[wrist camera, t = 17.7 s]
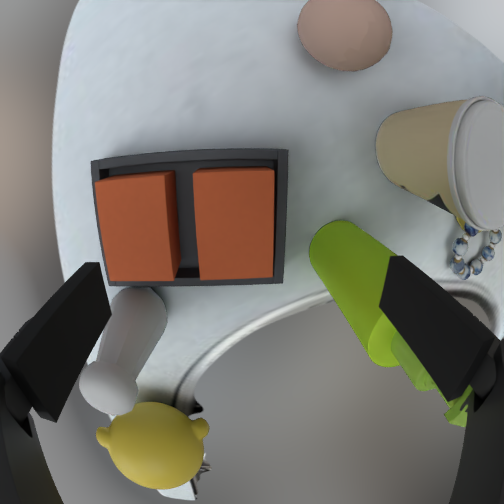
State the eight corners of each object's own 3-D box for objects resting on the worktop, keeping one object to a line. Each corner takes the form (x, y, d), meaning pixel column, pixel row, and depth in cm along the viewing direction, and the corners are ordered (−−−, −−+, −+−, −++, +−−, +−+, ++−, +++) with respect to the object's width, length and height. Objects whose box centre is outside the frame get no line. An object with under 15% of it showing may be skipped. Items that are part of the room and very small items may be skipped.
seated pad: (175, 169, 21) (164, 175, 18) (181, 260, 24) (174, 281, 21) (114, 175, 21) (94, 182, 17) (125, 261, 24) (110, 281, 20)
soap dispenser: (347, 291, 28) (452, 450, 9) (296, 259, 26) (399, 455, 7) (381, 246, 26) (525, 377, 8) (334, 208, 24) (510, 347, 6)
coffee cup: (372, 202, 24) (457, 247, 13) (359, 104, 21) (450, 88, 10) (441, 190, 24) (524, 223, 13) (433, 104, 21) (522, 104, 10)
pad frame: (282, 149, 22) (288, 149, 20) (278, 270, 26) (283, 283, 24) (103, 158, 21) (90, 161, 19) (117, 273, 25) (108, 286, 23)
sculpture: (118, 470, 29) (110, 507, 17) (99, 398, 33) (79, 413, 21) (209, 460, 34) (234, 493, 23) (193, 390, 39) (212, 402, 27)
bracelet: (502, 216, 25) (512, 224, 23) (472, 275, 30) (480, 284, 28) (470, 198, 23) (482, 206, 21) (434, 270, 28) (443, 280, 26)
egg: (372, 37, 18) (421, 9, 10) (350, 93, 20) (402, 77, 13) (304, 1, 17) (334, -44, 9) (276, 56, 19) (300, 18, 11)
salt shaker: (113, 276, 25) (52, 366, 13) (167, 276, 26) (129, 378, 14) (124, 324, 27) (84, 419, 15) (174, 326, 28) (152, 430, 16)
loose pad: (266, 166, 22) (274, 170, 18) (266, 257, 25) (272, 277, 21) (198, 168, 22) (192, 173, 18) (204, 259, 25) (200, 280, 21)
